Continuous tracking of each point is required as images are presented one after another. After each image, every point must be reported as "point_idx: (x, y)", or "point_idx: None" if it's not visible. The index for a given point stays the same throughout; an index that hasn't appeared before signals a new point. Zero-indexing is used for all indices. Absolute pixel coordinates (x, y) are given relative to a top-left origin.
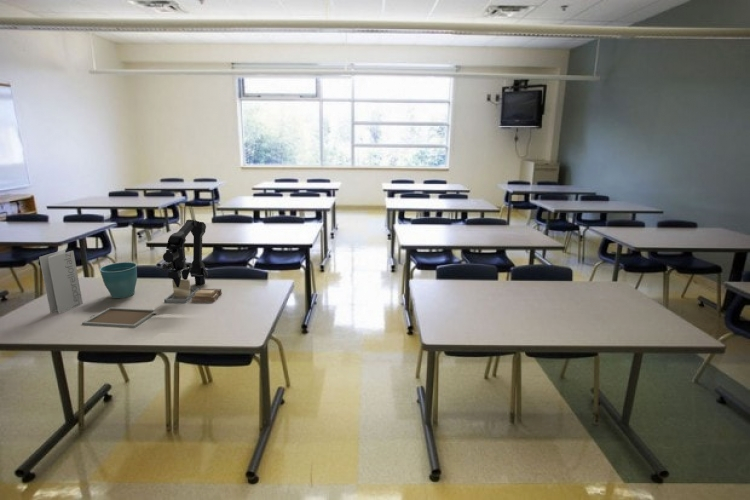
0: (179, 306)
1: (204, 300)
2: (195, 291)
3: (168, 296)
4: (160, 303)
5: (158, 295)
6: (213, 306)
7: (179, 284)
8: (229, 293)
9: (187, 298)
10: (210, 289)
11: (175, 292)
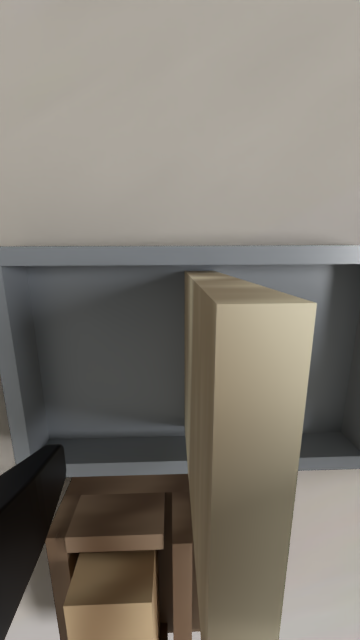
0: (4, 401)
1: None
2: None
3: (87, 250)
4: (44, 182)
5: (287, 18)
6: (49, 616)
7: (27, 549)
8: (302, 625)
9: None
10: None
11: (187, 299)
